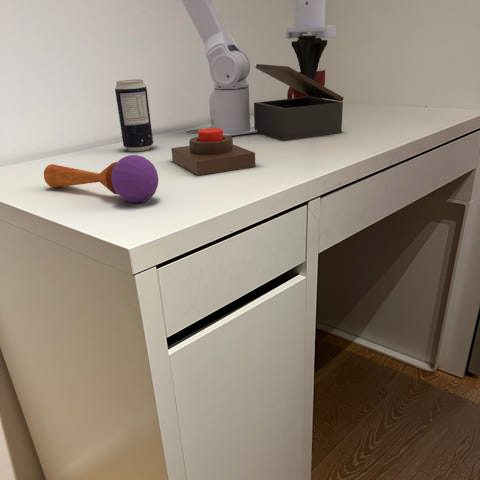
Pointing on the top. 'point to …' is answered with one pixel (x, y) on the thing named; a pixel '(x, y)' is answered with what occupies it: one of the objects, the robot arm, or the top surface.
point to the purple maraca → (111, 178)
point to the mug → (318, 78)
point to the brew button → (210, 134)
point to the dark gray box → (298, 117)
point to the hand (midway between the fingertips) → (308, 80)
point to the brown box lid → (299, 81)
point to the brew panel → (212, 156)
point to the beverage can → (134, 114)
